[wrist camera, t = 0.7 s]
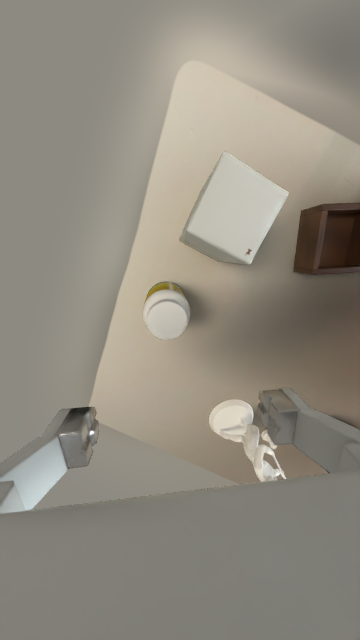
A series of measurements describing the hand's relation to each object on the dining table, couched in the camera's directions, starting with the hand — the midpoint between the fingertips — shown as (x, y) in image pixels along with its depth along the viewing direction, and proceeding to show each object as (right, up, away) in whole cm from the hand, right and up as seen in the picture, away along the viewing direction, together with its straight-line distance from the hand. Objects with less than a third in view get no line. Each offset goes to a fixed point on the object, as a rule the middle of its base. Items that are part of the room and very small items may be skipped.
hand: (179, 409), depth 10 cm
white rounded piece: (+19, -20, +35) cm, 44 cm away
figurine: (+11, -16, +33) cm, 38 cm away
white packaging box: (+4, +18, +21) cm, 28 cm away
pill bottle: (-2, +8, +24) cm, 25 cm away
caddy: (+27, +17, +23) cm, 39 cm away
